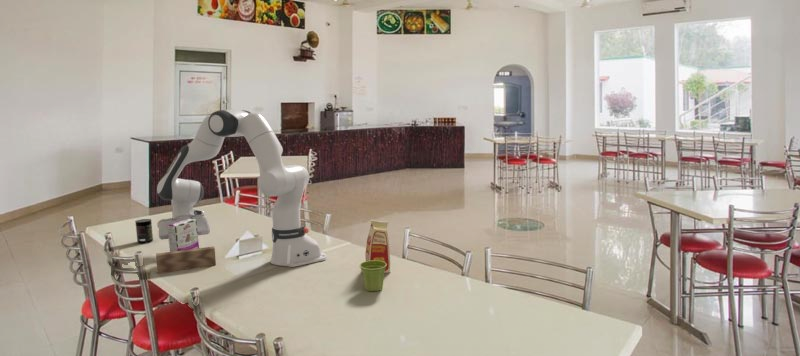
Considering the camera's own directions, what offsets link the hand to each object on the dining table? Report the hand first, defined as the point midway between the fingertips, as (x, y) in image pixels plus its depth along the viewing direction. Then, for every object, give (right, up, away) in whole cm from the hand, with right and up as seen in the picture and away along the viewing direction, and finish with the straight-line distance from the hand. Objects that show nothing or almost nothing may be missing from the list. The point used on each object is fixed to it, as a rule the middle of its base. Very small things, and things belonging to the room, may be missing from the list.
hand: (185, 244), depth 204 cm
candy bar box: (+2, -6, -5) cm, 8 cm away
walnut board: (+7, -7, -14) cm, 17 cm away
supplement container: (-30, -2, +23) cm, 38 cm away
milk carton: (+83, -7, -18) cm, 85 cm away
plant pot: (+82, -10, -37) cm, 91 cm away
